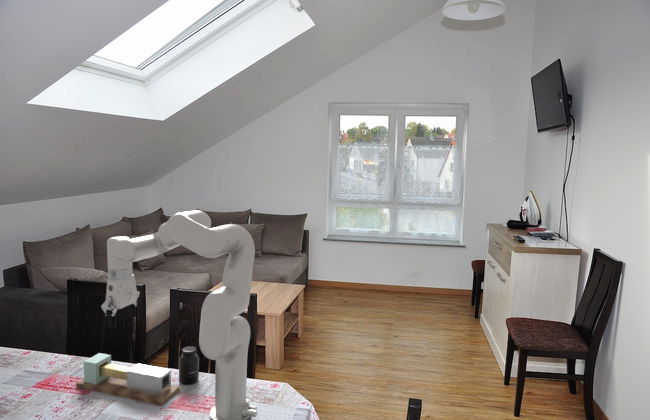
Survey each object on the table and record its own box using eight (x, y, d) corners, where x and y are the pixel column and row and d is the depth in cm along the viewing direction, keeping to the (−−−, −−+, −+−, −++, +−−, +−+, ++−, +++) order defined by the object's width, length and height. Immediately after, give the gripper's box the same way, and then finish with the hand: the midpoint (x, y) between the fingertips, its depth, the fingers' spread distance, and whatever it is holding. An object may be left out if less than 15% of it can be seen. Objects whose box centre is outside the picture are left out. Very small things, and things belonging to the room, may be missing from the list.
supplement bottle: (192, 386, 156) (193, 354, 155) (175, 384, 158) (175, 351, 156) (202, 377, 163) (202, 346, 162) (185, 375, 164) (185, 343, 163)
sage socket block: (111, 375, 159) (111, 355, 158) (96, 384, 152) (95, 363, 152) (99, 372, 161) (99, 352, 160) (84, 382, 154) (83, 361, 153)
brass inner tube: (149, 379, 152) (149, 371, 152) (143, 384, 149) (143, 375, 149) (101, 369, 158) (101, 361, 157) (94, 373, 155) (94, 365, 154)
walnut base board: (179, 390, 153) (179, 386, 153) (161, 405, 144) (161, 401, 144) (98, 374, 163) (98, 370, 162) (76, 387, 153) (76, 383, 153)
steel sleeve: (170, 388, 152) (170, 369, 151) (160, 396, 146) (160, 377, 146) (138, 382, 155) (138, 363, 154) (127, 389, 150) (126, 370, 149)
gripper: (111, 280, 142) (113, 332, 144) (146, 268, 159) (148, 314, 161) (91, 278, 144) (94, 329, 146) (128, 266, 161) (130, 312, 163)
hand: (122, 321), depth 153 cm, fingers open, 9 cm apart
